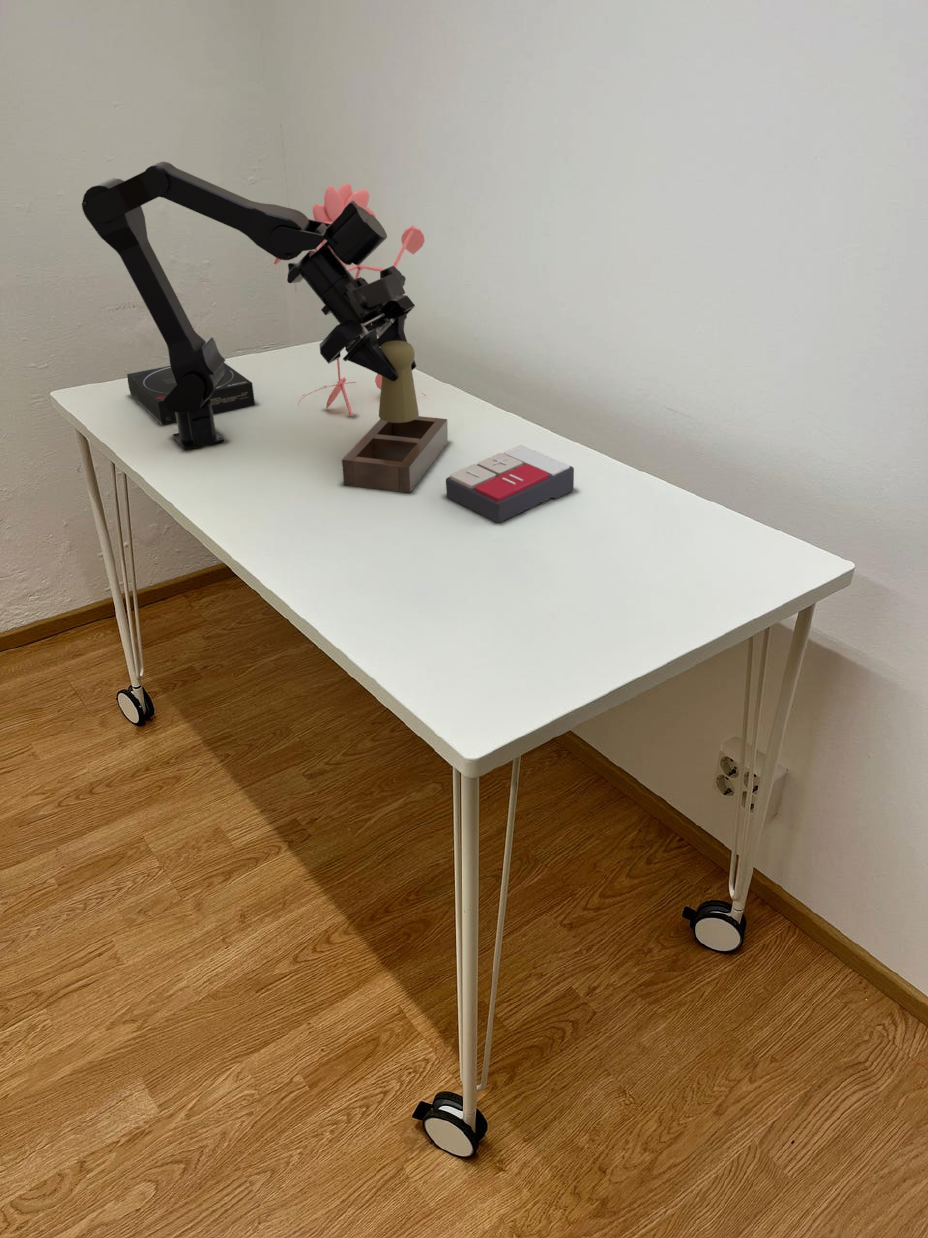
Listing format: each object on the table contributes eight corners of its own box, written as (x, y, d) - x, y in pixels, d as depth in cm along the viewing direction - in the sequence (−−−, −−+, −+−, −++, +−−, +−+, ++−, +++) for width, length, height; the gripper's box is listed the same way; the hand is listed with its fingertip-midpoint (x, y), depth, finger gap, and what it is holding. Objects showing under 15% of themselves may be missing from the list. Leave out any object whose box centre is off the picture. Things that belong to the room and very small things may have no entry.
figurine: (438, 394, 173) (434, 180, 154) (312, 430, 160) (290, 200, 141) (388, 371, 183) (378, 168, 164) (266, 403, 170) (240, 186, 151)
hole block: (343, 485, 143) (341, 459, 140) (387, 436, 158) (386, 412, 155) (410, 493, 140) (409, 467, 138) (447, 442, 155) (447, 418, 153)
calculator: (443, 473, 137) (521, 439, 145) (445, 500, 139) (521, 466, 147) (497, 499, 130) (575, 462, 138) (498, 527, 132) (574, 489, 140)
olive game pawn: (378, 408, 150) (375, 336, 144) (418, 407, 150) (416, 335, 144) (378, 423, 145) (375, 349, 139) (419, 422, 145) (418, 348, 139)
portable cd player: (218, 377, 181) (215, 355, 179) (255, 404, 169) (252, 382, 167) (130, 394, 174) (125, 372, 172) (162, 425, 162) (157, 402, 160)
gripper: (331, 265, 129) (407, 360, 131) (401, 237, 143) (468, 323, 145) (287, 317, 136) (360, 406, 138) (358, 286, 150) (422, 367, 152)
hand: (405, 373), depth 143 cm, fingers closed on olive game pawn, 5 cm apart
